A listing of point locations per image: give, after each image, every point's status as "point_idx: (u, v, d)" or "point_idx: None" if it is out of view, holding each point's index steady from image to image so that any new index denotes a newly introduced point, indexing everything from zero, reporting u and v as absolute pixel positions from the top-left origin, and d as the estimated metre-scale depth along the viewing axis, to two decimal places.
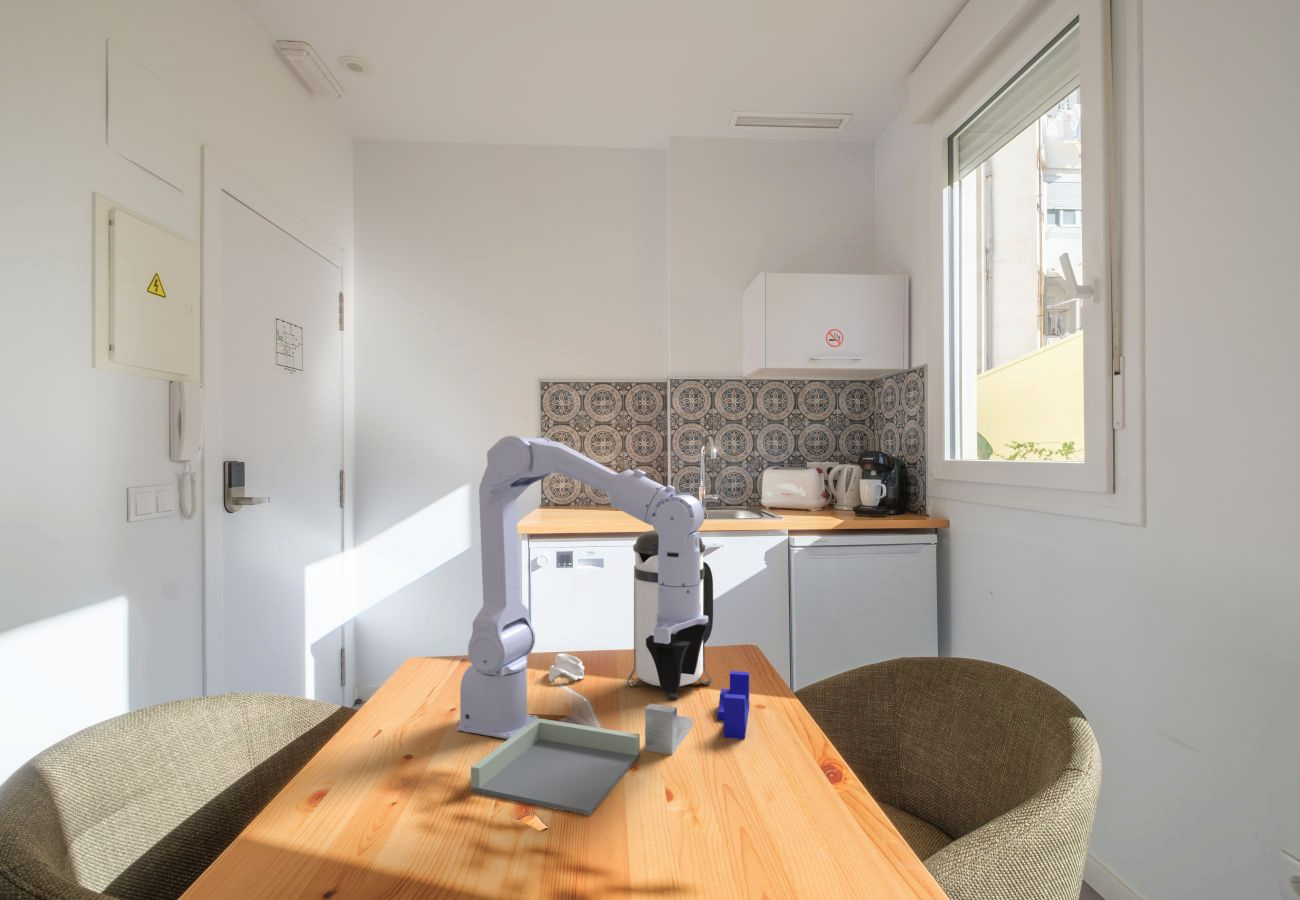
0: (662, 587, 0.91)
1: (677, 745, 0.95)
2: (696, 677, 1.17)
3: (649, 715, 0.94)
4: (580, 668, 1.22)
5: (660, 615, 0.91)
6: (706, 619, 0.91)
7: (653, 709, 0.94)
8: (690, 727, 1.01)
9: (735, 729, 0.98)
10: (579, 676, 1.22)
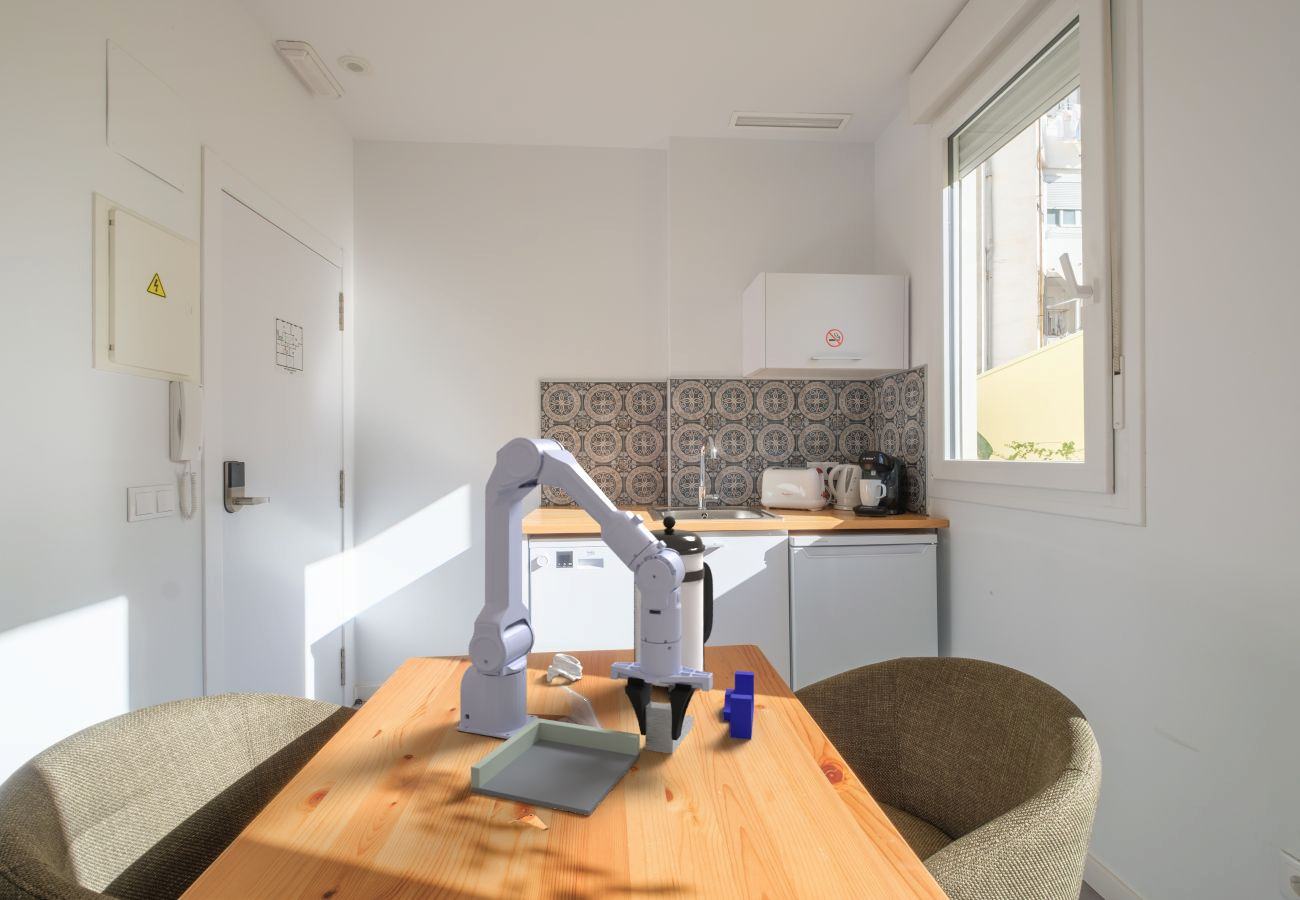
0: None
1: (677, 743, 0.95)
2: None
3: (649, 713, 0.95)
4: (578, 668, 1.22)
5: None
6: (649, 679, 0.91)
7: (653, 707, 0.94)
8: (690, 725, 1.01)
9: (742, 729, 0.98)
10: (577, 676, 1.22)
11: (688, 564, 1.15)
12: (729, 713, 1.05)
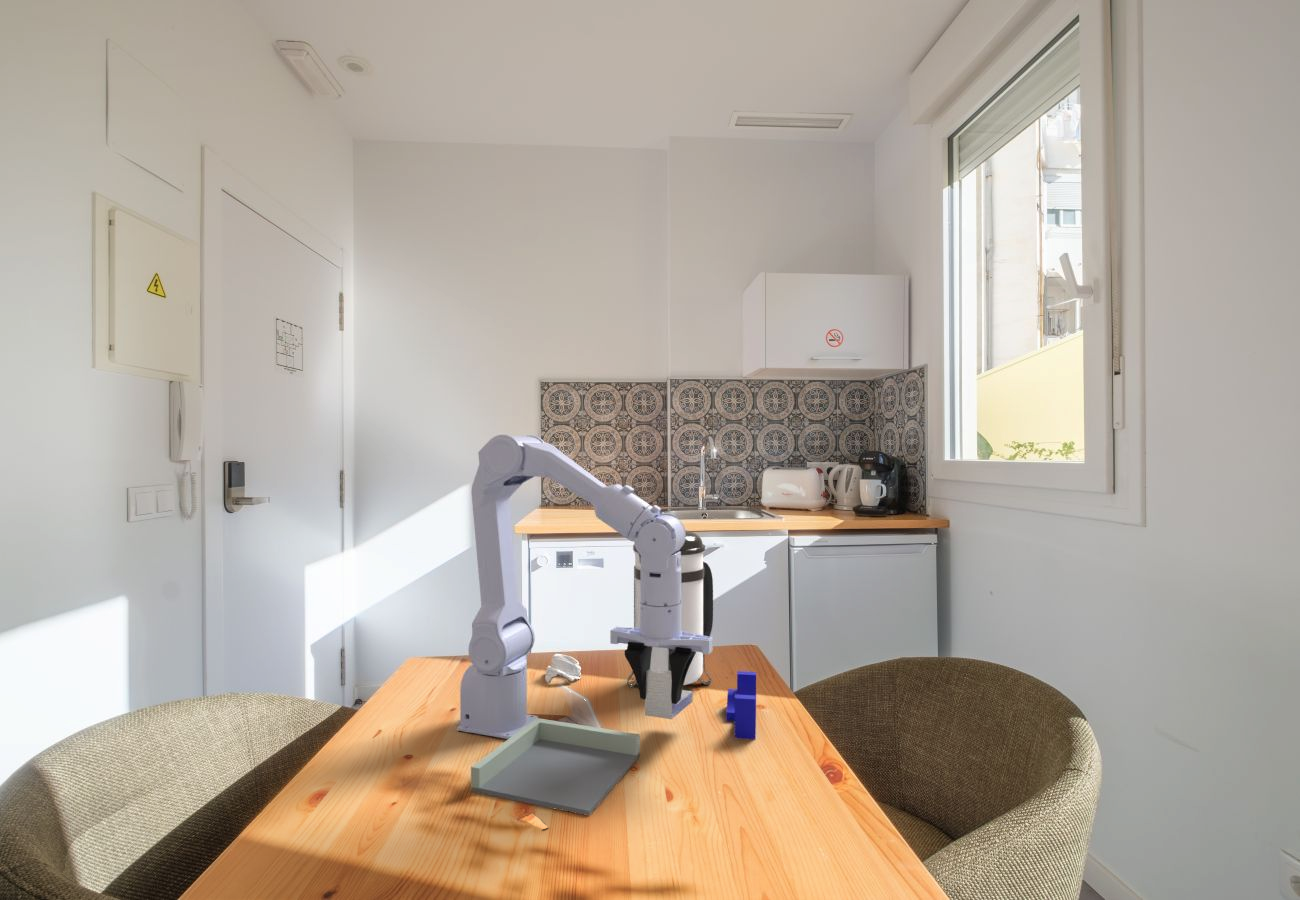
0: None
1: (676, 711, 0.95)
2: (696, 677, 1.17)
3: (650, 678, 0.95)
4: (577, 668, 1.22)
5: None
6: (649, 642, 0.91)
7: (654, 672, 0.95)
8: (690, 699, 1.01)
9: (746, 730, 0.98)
10: (576, 676, 1.22)
11: (688, 564, 1.15)
12: (732, 713, 1.05)
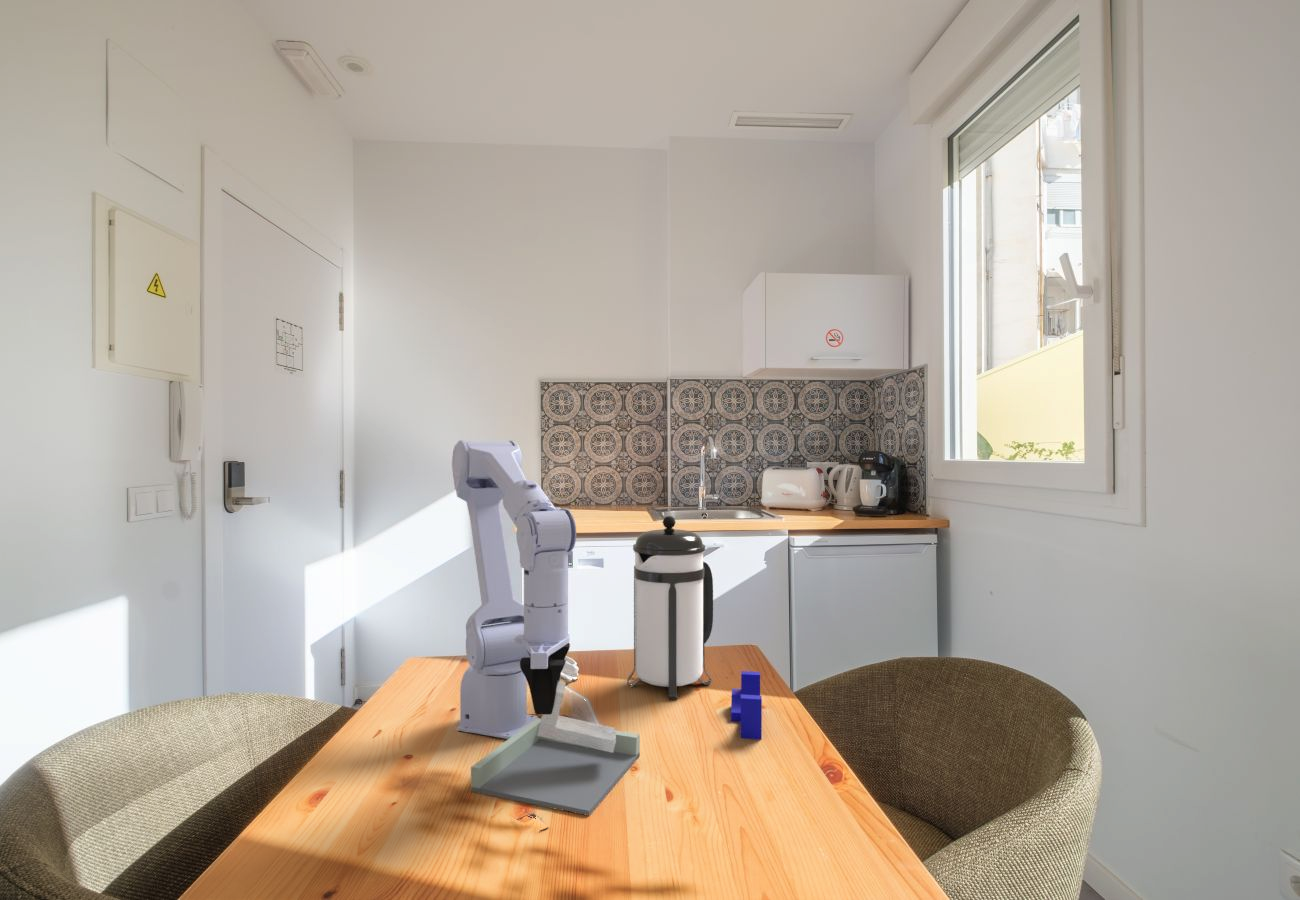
0: None
1: (555, 735, 0.87)
2: (696, 677, 1.17)
3: None
4: (574, 669, 1.22)
5: None
6: None
7: None
8: (604, 746, 0.87)
9: (752, 730, 0.98)
10: (573, 677, 1.22)
11: (688, 564, 1.15)
12: (737, 713, 1.04)
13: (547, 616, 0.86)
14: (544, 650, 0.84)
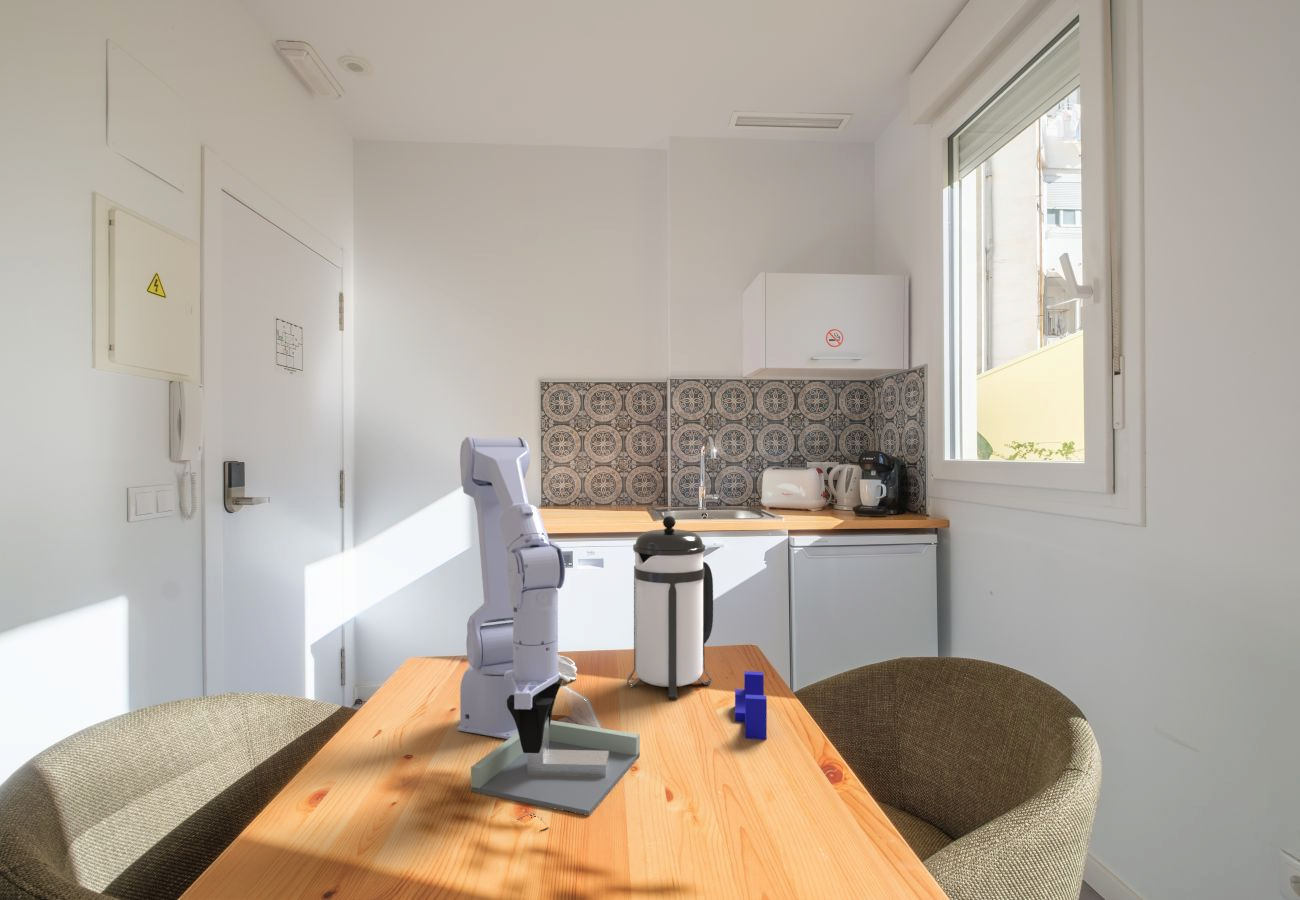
0: None
1: (545, 771, 0.86)
2: (696, 677, 1.17)
3: None
4: (573, 669, 1.22)
5: None
6: (505, 673, 0.88)
7: None
8: (595, 772, 0.86)
9: (757, 730, 0.98)
10: (572, 677, 1.22)
11: (688, 564, 1.15)
12: (741, 713, 1.04)
13: (534, 654, 0.85)
14: (530, 689, 0.83)
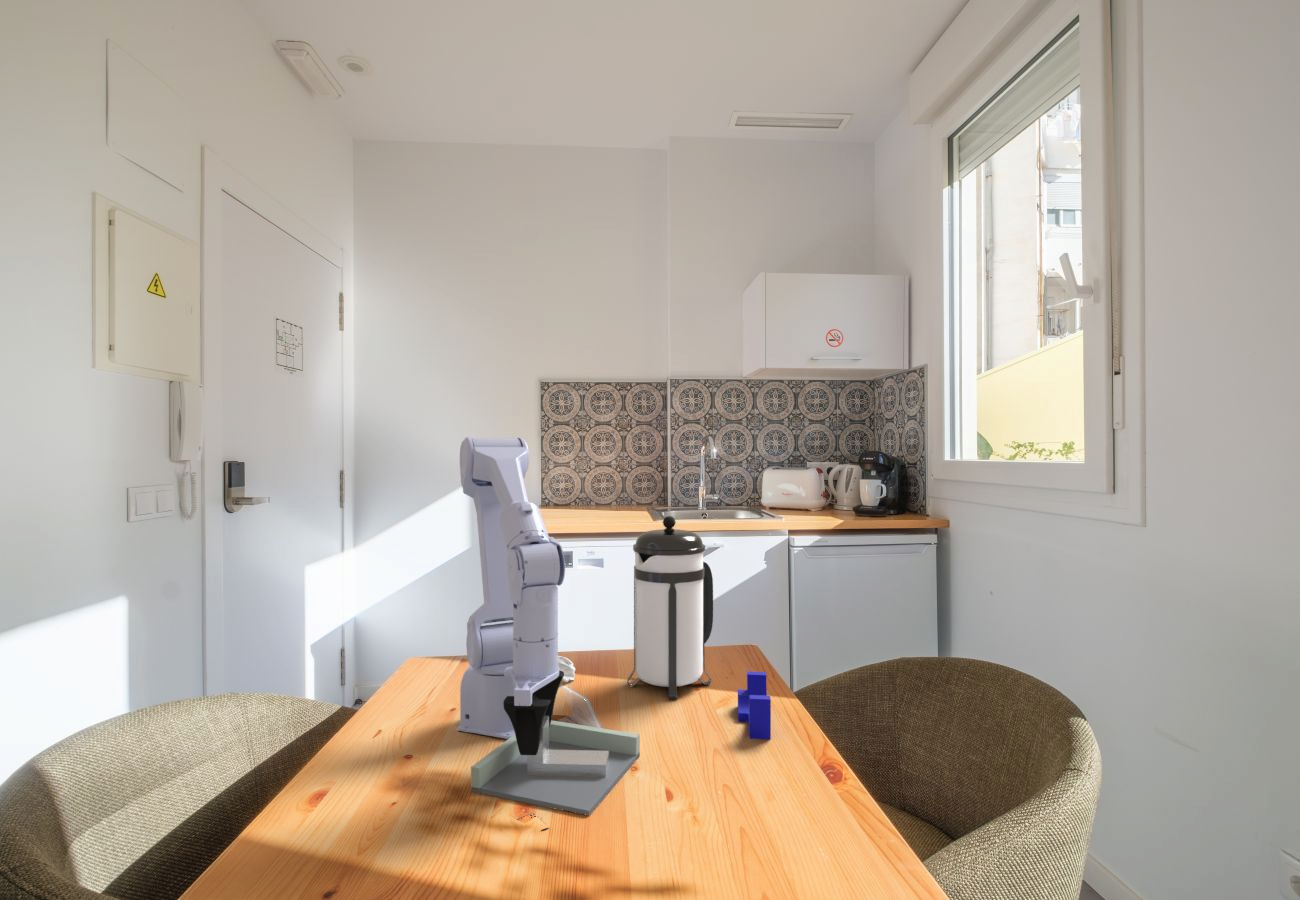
0: None
1: (545, 771, 0.86)
2: (696, 677, 1.17)
3: None
4: (571, 669, 1.22)
5: None
6: None
7: None
8: (595, 772, 0.86)
9: (761, 730, 0.98)
10: (570, 677, 1.22)
11: (688, 564, 1.15)
12: (744, 714, 1.04)
13: (534, 651, 0.85)
14: (530, 686, 0.83)
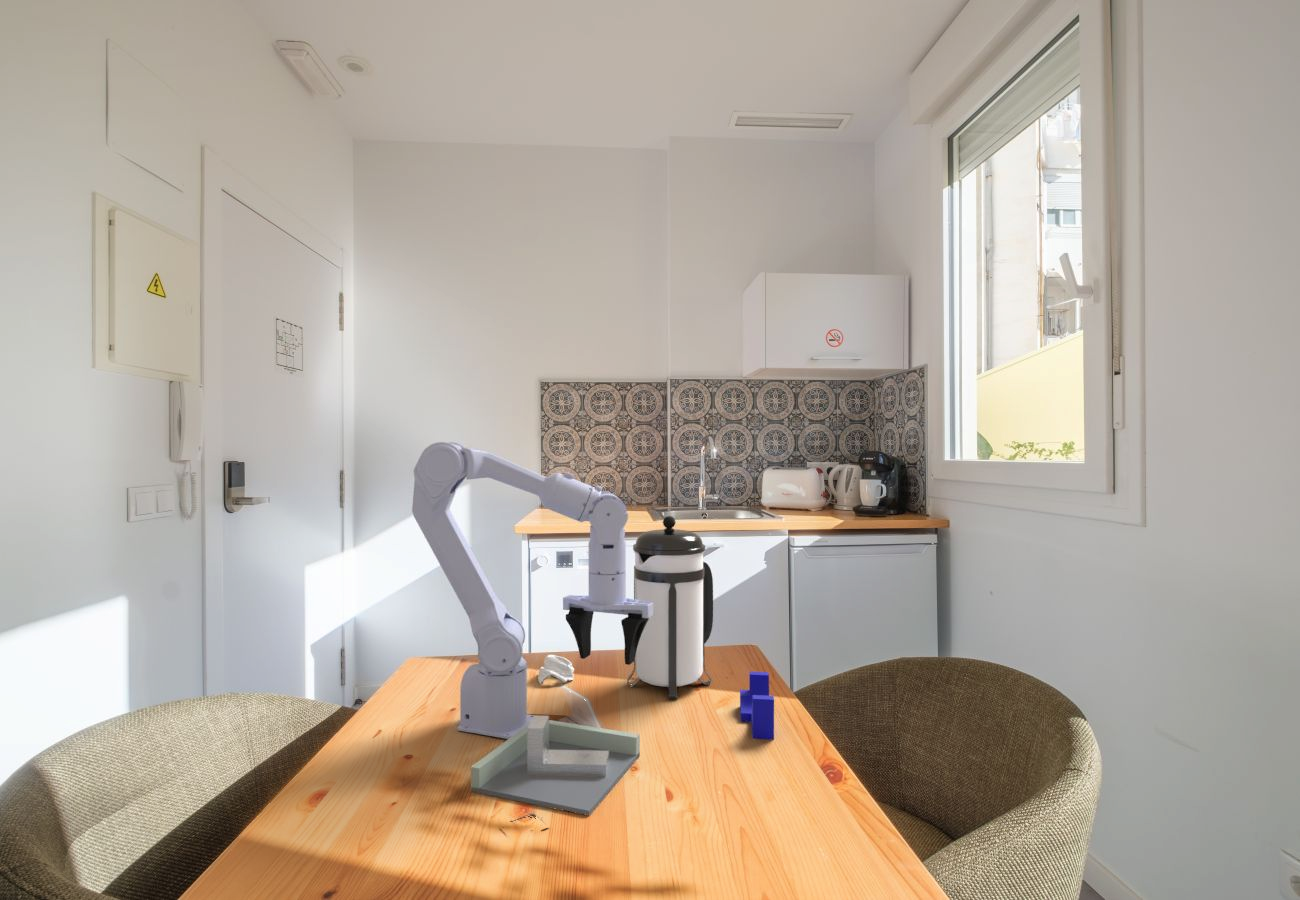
0: None
1: (545, 771, 0.86)
2: (696, 677, 1.17)
3: None
4: (570, 669, 1.22)
5: None
6: (593, 606, 1.01)
7: (532, 719, 0.89)
8: (595, 772, 0.86)
9: (764, 730, 0.98)
10: (569, 677, 1.22)
11: (688, 564, 1.15)
12: (747, 714, 1.04)
13: (624, 579, 1.04)
14: (637, 604, 1.03)
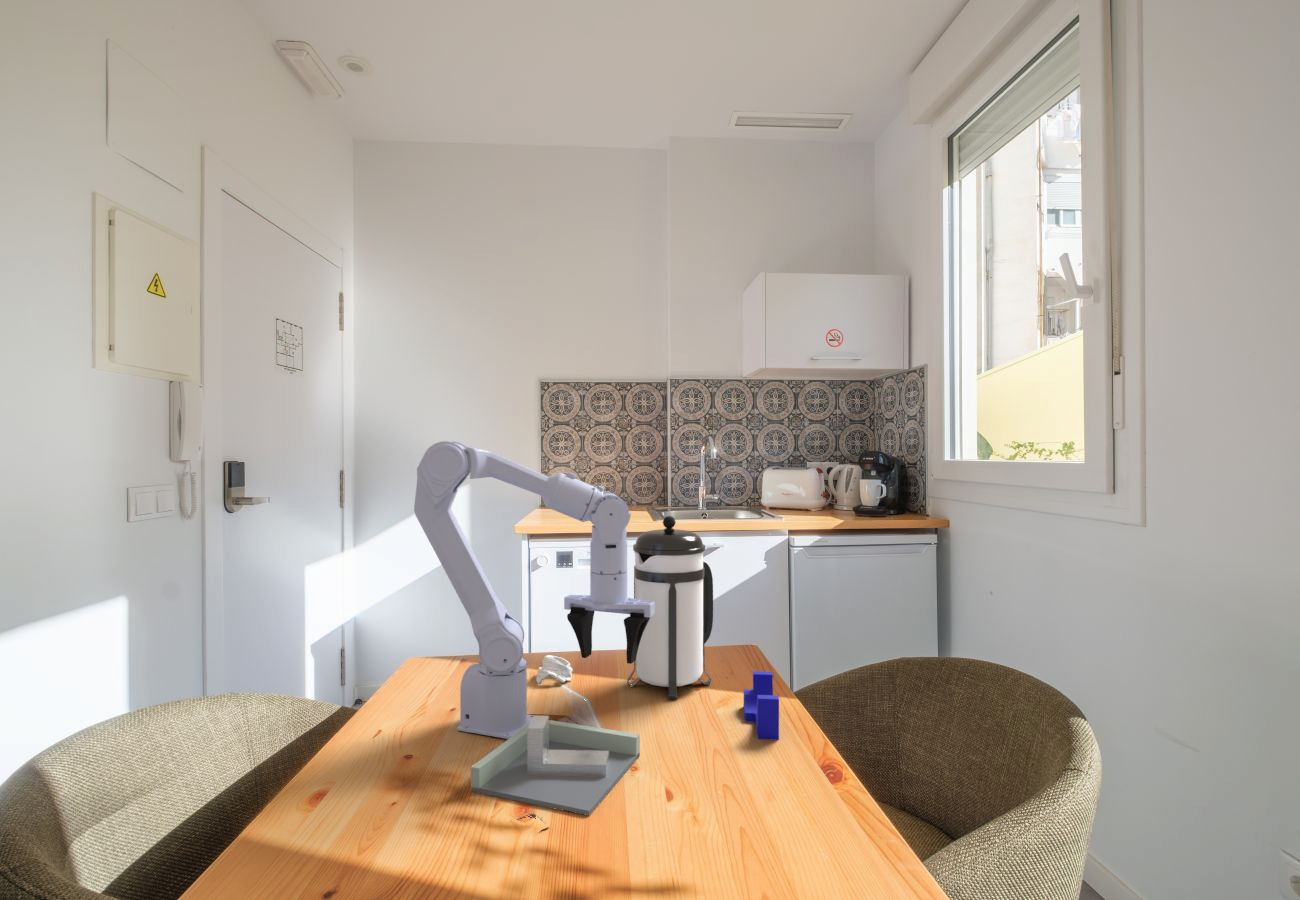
0: None
1: (545, 771, 0.86)
2: (696, 677, 1.17)
3: None
4: (568, 670, 1.22)
5: None
6: (596, 606, 1.01)
7: (532, 719, 0.89)
8: (595, 772, 0.86)
9: (769, 730, 0.98)
10: (567, 678, 1.22)
11: (688, 564, 1.15)
12: (751, 714, 1.04)
13: (626, 579, 1.05)
14: (639, 604, 1.04)
